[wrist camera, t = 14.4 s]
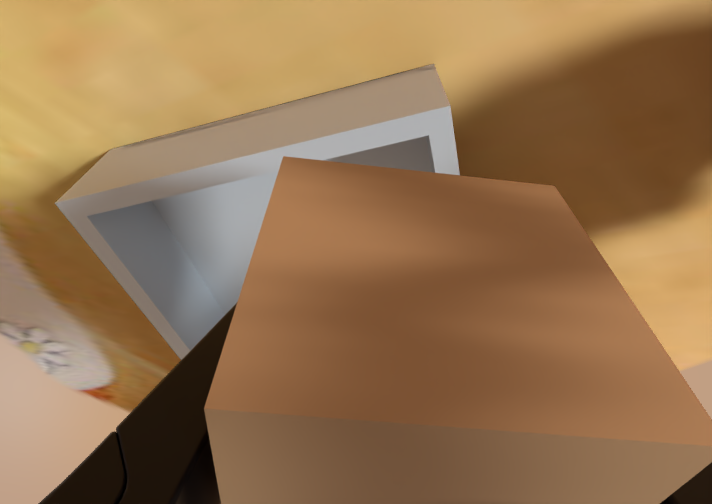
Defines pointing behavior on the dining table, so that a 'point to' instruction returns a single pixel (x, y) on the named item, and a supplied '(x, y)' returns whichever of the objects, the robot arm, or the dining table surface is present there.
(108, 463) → the robot arm
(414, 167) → the tray
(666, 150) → the dining table surface
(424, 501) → the walnut cube
